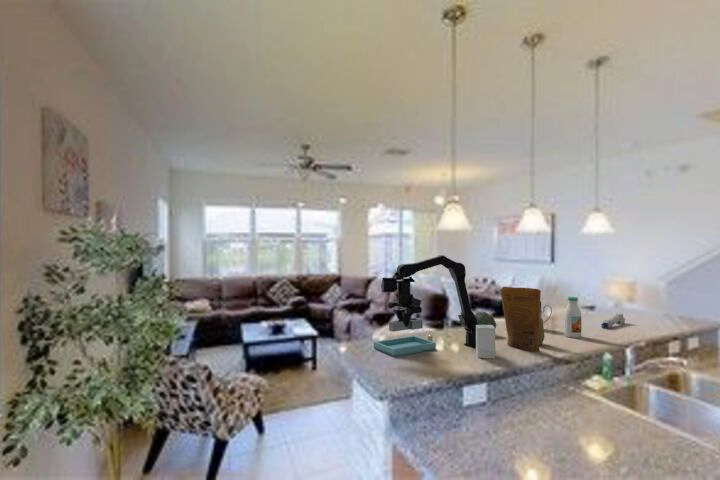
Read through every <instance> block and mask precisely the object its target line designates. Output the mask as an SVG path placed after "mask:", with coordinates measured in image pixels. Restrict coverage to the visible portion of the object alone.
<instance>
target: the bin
mask: <svg viewBox="0 0 720 480" xmlns="http://www.w3.org/2000/svg"><path fill="white" fill-rule="evenodd" d="M374 348H375V350H376V351H379V352H382V353H385V354H387V355H389V356H391V357H393V356H395V357H400V356H404V355H405V354H406V355H410V354H411V355H412V354H418V353H424V352H428V351H434V350H437V349H436V342H434V341H433V340H432V341H429V340H428V339H425V338H422V337H419V336H416V335H409V336H403V337H397V338H390V339H384V340H377V341H373V349H374ZM406 355H405V356H406Z"/></svg>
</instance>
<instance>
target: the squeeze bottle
mask: <svg viewBox="0 0 720 480" xmlns="http://www.w3.org/2000/svg"><path fill="white" fill-rule="evenodd" d="M540 317H541V314H540ZM543 322H544V320H543V319H541V318H540V322H539V337H538V339H539V346H541V345H543V343H544V340H545V338H546V336H545V329H544V323H543Z"/></svg>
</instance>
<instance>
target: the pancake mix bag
mask: <svg viewBox="0 0 720 480" xmlns="http://www.w3.org/2000/svg"><path fill="white" fill-rule="evenodd" d="M499 290H500V291H499V293H500V297H501V303H502V310H503V315H504V322H505V328H506V333H507V334H506V335H507V338H508V339H507V343H506V344H507V346H508V345H509V346H508V347H510V348H514V349H519V350H525V351H527V352H532V353H535V352H537V353H539V352H541V349H540V345H539V339H538V337H539V322H540V301H541V296H542V295H541V294H542V293H541V292H542V290H540V289H538V288H531V287H512V286H502V288H500V289H499Z"/></svg>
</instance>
